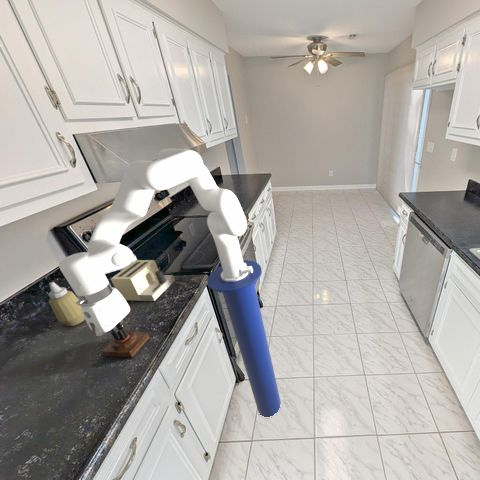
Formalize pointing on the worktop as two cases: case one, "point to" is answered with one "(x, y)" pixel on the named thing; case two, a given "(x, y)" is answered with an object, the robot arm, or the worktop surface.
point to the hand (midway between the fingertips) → (122, 337)
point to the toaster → (141, 281)
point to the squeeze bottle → (65, 305)
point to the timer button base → (126, 345)
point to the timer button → (123, 340)
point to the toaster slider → (160, 277)
